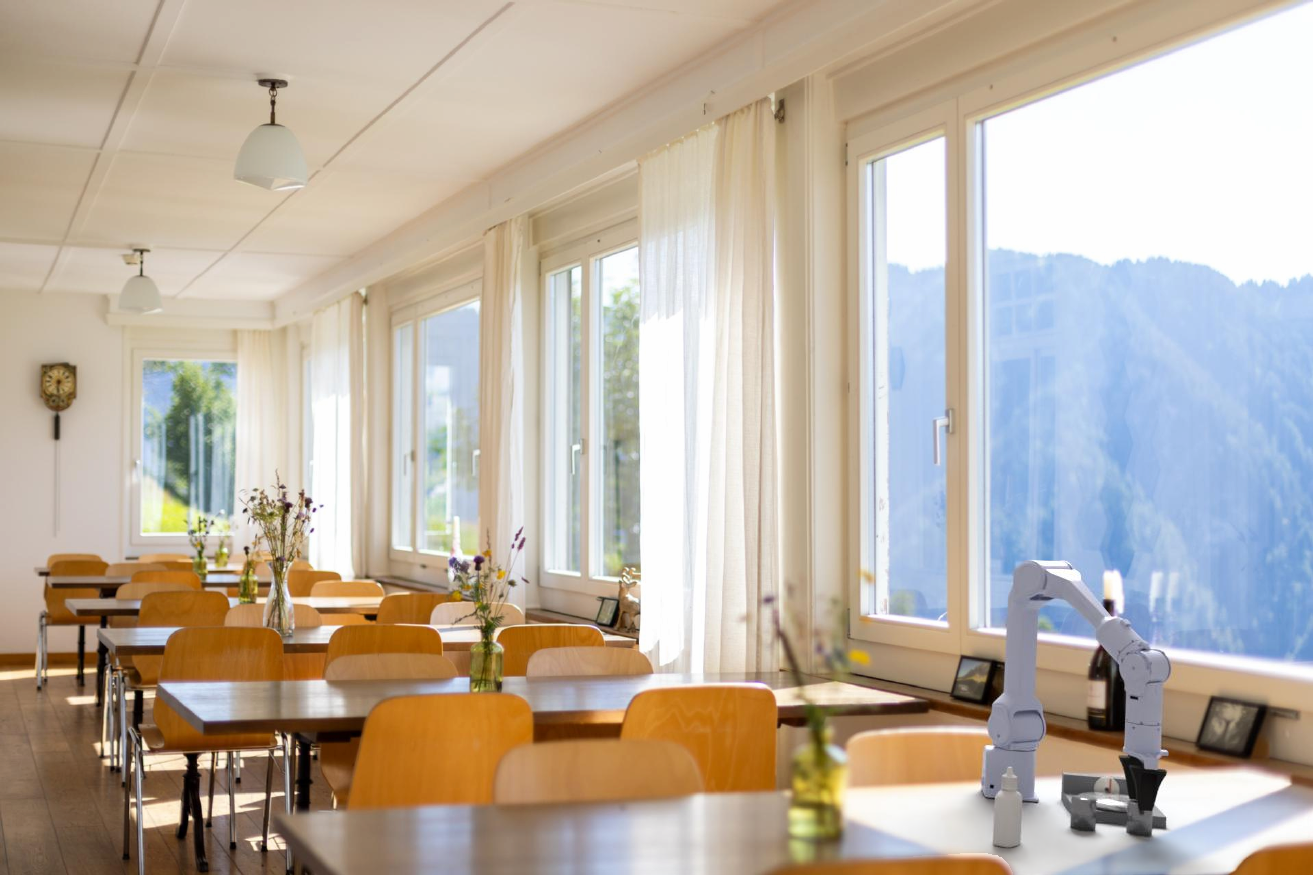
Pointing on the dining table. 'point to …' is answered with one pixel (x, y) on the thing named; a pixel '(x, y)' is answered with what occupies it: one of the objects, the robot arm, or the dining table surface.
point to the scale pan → (1109, 800)
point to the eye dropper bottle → (1007, 812)
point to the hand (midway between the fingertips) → (1140, 804)
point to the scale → (1101, 783)
